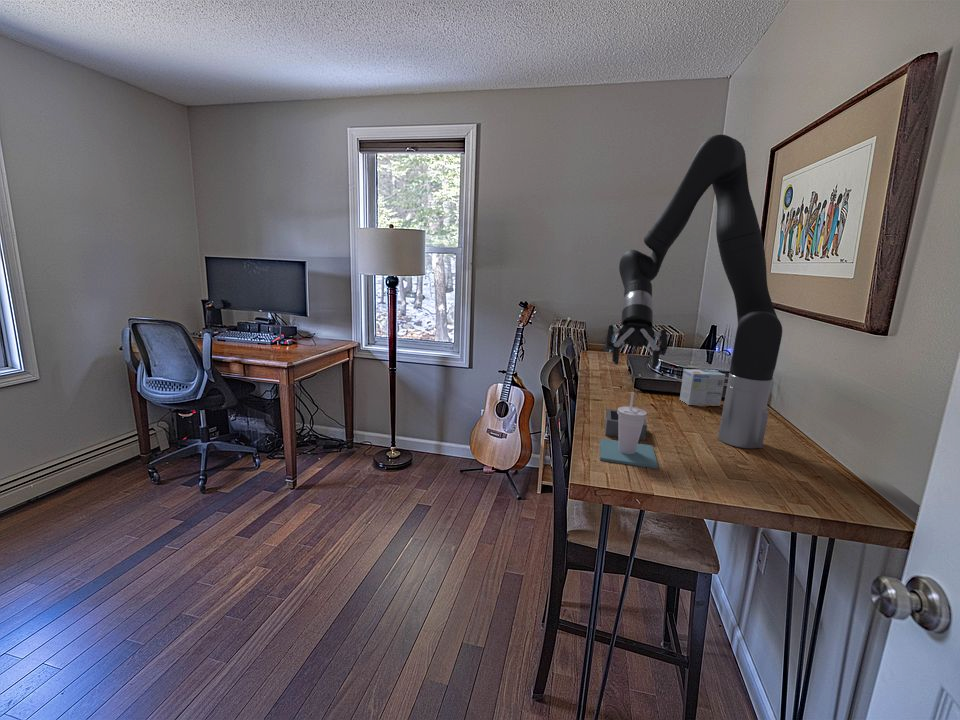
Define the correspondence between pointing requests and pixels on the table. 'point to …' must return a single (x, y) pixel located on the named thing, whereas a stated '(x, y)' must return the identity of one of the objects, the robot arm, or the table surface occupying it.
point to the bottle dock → (612, 425)
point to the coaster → (639, 458)
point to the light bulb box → (702, 387)
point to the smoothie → (629, 427)
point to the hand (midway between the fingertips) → (635, 364)
